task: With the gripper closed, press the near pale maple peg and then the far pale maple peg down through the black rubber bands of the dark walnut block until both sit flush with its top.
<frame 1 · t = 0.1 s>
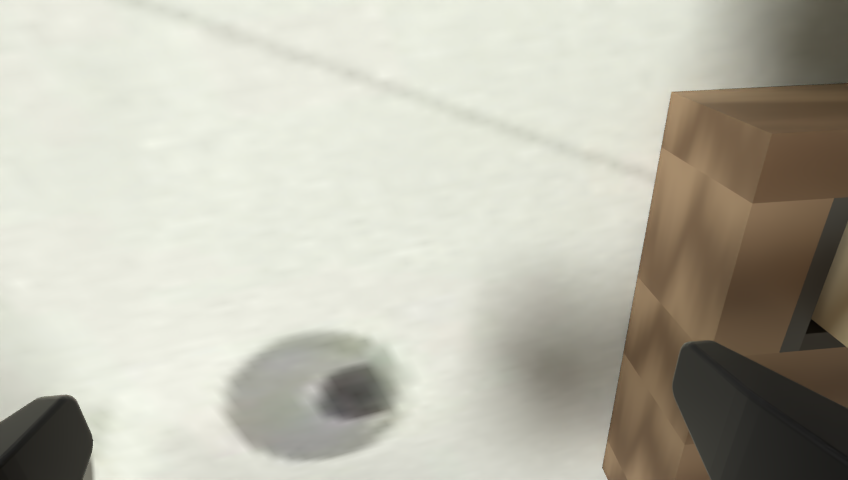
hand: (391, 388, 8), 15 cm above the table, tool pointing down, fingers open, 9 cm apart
band block: (745, 306, 27), on the table
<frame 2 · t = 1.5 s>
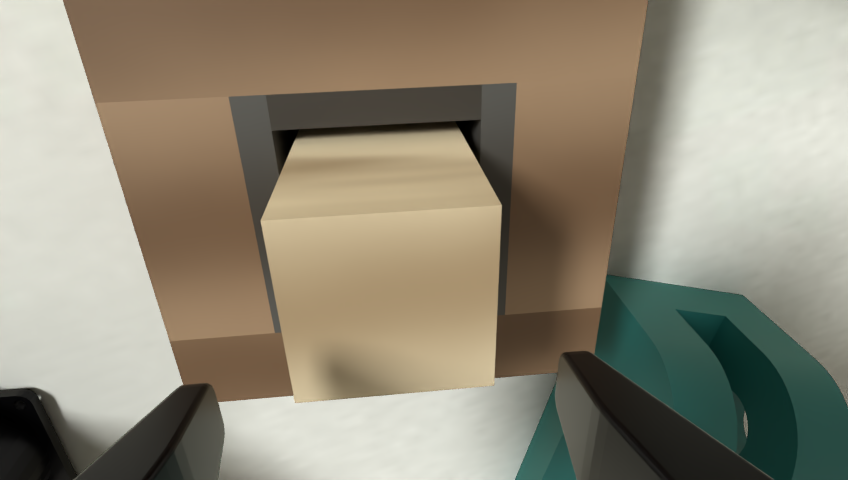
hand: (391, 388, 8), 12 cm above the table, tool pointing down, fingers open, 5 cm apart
bracket: (595, 429, 27), on the table
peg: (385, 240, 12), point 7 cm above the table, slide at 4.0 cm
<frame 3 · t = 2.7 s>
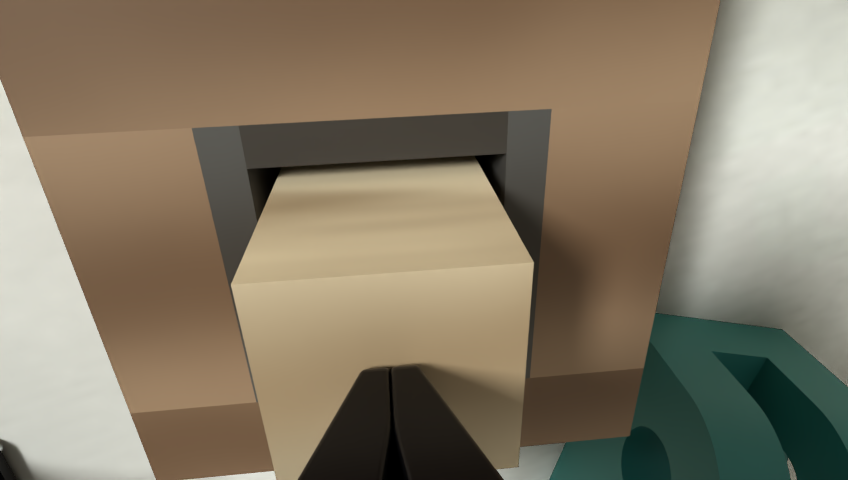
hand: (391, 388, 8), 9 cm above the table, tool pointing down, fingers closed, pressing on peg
bracket: (616, 473, 24), on the table
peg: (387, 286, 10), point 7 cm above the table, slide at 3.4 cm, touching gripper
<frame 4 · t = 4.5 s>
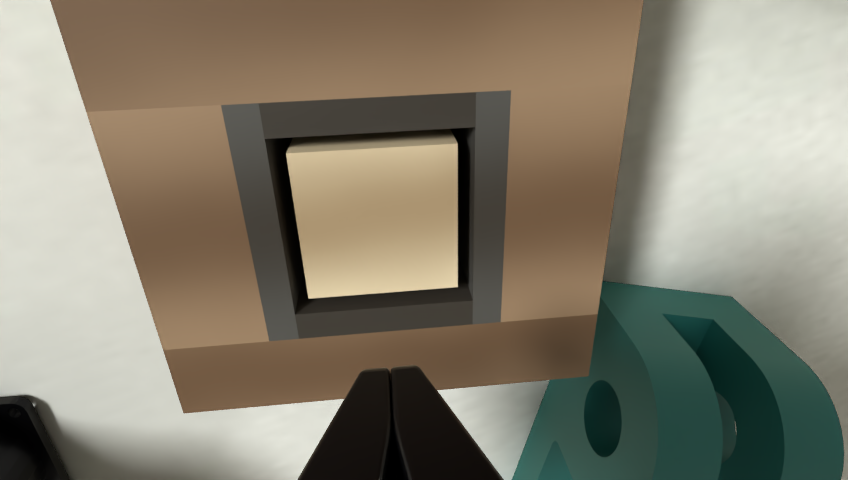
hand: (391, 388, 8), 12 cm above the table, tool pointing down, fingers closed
bracket: (589, 434, 27), on the table
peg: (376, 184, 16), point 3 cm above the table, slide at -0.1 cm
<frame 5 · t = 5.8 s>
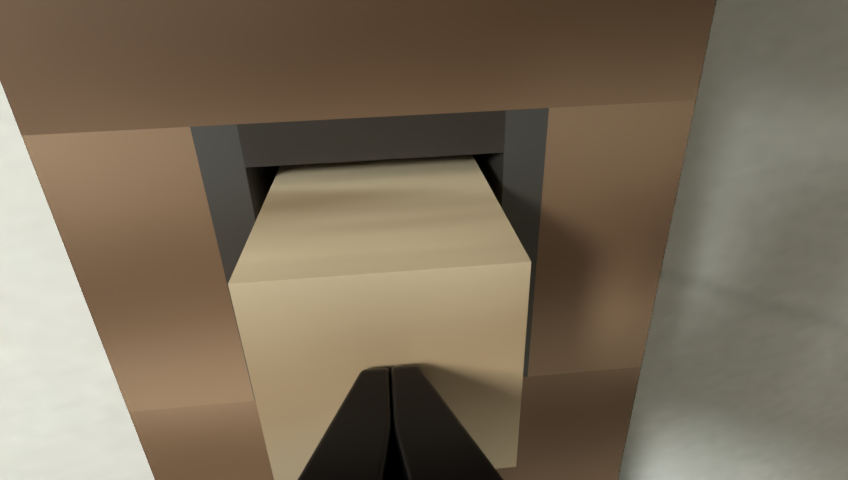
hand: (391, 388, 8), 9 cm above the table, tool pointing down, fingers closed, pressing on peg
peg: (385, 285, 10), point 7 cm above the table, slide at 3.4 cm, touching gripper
band block: (390, 318, 19), on the table
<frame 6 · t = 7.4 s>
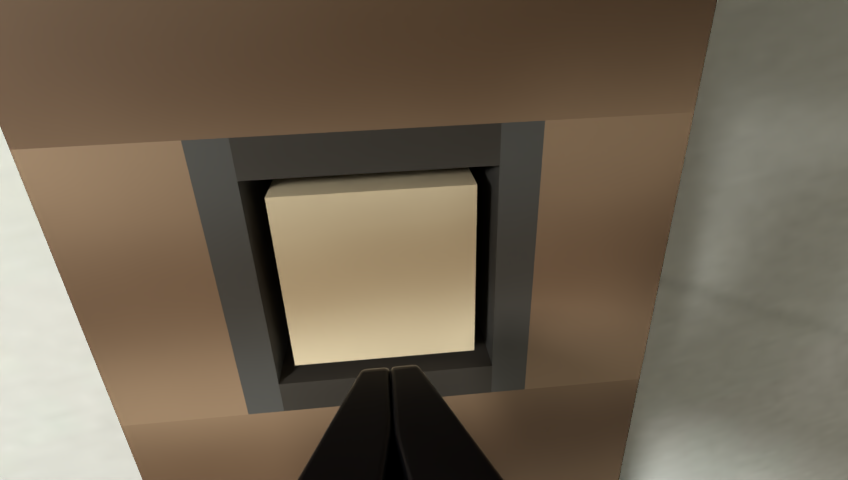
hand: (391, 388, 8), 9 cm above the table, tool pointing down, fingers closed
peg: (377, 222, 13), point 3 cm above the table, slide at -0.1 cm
band block: (386, 326, 19), on the table
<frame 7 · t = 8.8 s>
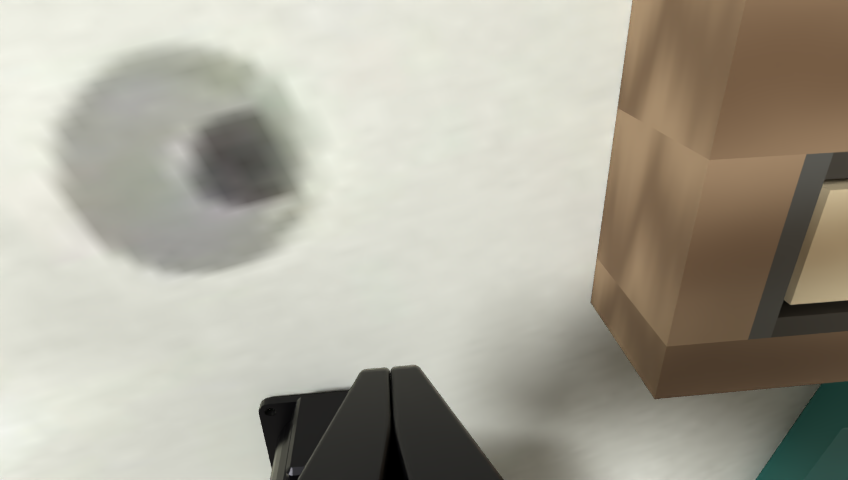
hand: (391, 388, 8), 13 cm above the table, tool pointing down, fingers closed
bracket: (839, 424, 30), on the table
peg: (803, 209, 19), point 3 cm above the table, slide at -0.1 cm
band block: (787, 35, 19), on the table
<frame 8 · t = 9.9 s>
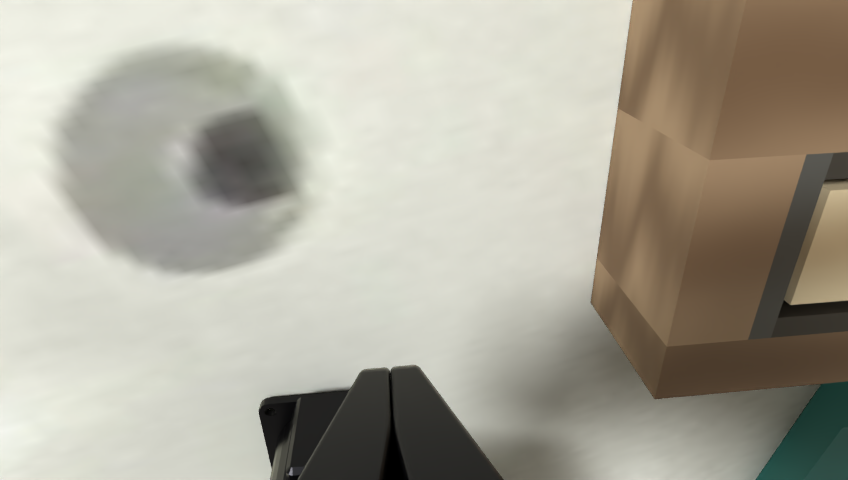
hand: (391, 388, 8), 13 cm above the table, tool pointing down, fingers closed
bracket: (839, 423, 30), on the table
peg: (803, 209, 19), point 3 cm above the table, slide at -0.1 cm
band block: (788, 35, 19), on the table
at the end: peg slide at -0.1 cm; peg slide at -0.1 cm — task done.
